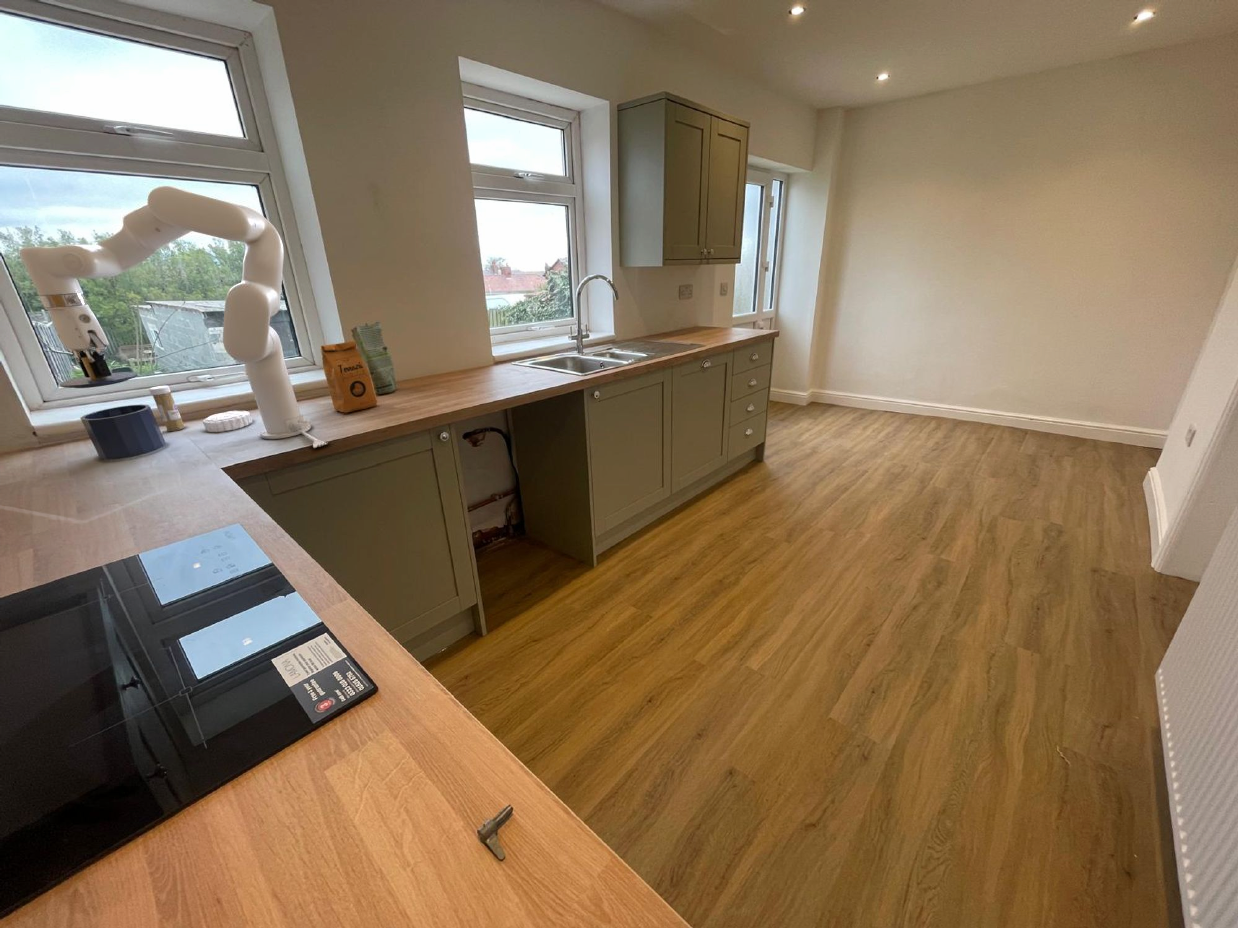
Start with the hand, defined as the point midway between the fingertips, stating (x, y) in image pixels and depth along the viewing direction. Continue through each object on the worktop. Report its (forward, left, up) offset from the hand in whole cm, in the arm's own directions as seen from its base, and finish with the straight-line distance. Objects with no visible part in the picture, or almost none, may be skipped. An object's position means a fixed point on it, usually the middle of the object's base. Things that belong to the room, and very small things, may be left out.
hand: (98, 375), depth 129 cm
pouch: (-25, -67, -21) cm, 75 cm away
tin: (0, 0, -21) cm, 21 cm away
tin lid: (0, 0, -1) cm, 1 cm away
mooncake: (-5, -23, -21) cm, 32 cm away
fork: (-45, -18, -22) cm, 53 cm away
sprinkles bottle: (+10, -17, -22) cm, 29 cm away
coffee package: (-33, -46, -22) cm, 61 cm away
